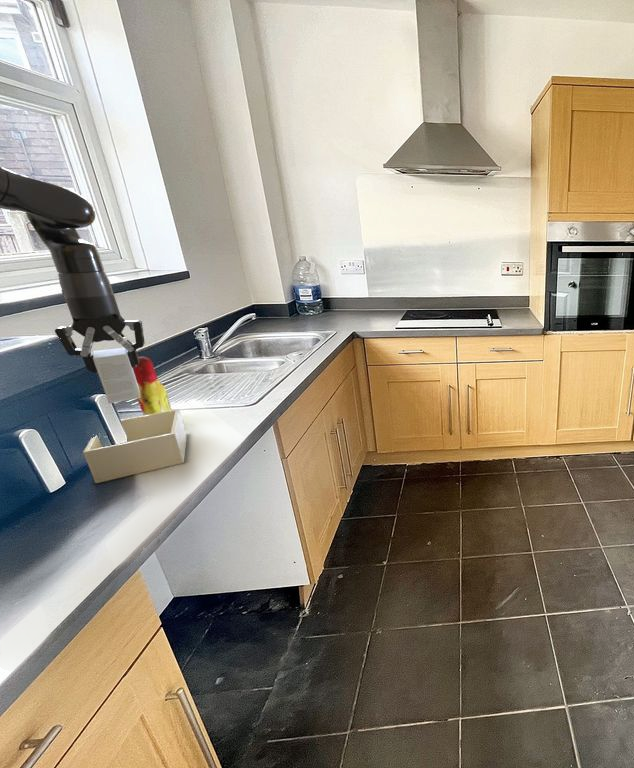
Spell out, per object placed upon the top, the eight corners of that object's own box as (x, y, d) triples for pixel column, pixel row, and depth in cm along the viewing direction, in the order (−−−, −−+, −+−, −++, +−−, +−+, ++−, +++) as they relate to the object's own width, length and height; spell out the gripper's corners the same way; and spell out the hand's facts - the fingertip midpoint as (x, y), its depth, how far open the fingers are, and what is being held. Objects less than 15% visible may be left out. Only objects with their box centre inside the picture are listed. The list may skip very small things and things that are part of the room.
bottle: (170, 428, 117) (148, 360, 110) (141, 433, 114) (117, 364, 107) (177, 413, 127) (158, 350, 120) (150, 417, 124) (129, 353, 117)
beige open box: (95, 483, 91) (82, 452, 88) (110, 451, 105) (100, 423, 102) (183, 462, 99) (174, 433, 97) (187, 435, 113) (179, 408, 110)
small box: (108, 394, 96) (92, 350, 93) (139, 388, 100) (125, 346, 96) (108, 404, 91) (91, 358, 87) (141, 397, 94) (126, 353, 91)
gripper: (136, 289, 94) (157, 360, 100) (46, 294, 87) (75, 370, 92) (131, 293, 88) (154, 368, 94) (34, 298, 81) (66, 379, 87)
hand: (115, 369), depth 93 cm, fingers closed on small box, 6 cm apart
